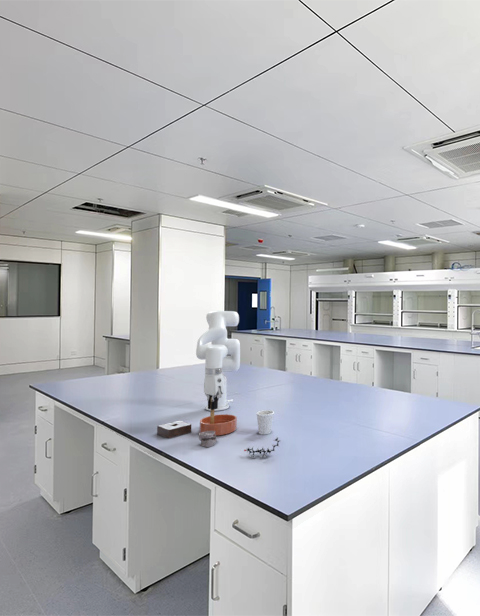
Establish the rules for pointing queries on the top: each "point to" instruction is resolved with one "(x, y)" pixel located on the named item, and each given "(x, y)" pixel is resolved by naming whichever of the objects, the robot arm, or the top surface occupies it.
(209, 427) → the mixing bowl
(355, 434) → the top surface
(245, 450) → the molecular model
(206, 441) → the dental mold
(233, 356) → the robot arm
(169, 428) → the holder
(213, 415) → the light wooden dowel
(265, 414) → the dixie cup
